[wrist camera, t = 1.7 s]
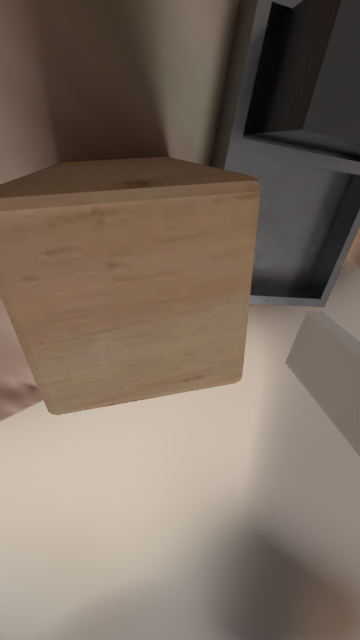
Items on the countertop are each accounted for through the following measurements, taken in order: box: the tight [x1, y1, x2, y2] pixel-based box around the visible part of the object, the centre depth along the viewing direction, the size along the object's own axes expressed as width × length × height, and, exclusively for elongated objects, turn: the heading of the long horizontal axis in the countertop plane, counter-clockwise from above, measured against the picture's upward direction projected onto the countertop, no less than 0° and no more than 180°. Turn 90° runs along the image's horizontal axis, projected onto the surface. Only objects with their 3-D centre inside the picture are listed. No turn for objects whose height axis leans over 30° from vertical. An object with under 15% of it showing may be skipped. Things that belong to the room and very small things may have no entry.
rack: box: [211, 0, 360, 307], centre depth 26 cm, size 17×24×11 cm
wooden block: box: [0, 157, 260, 415], centre depth 20 cm, size 10×10×20 cm
